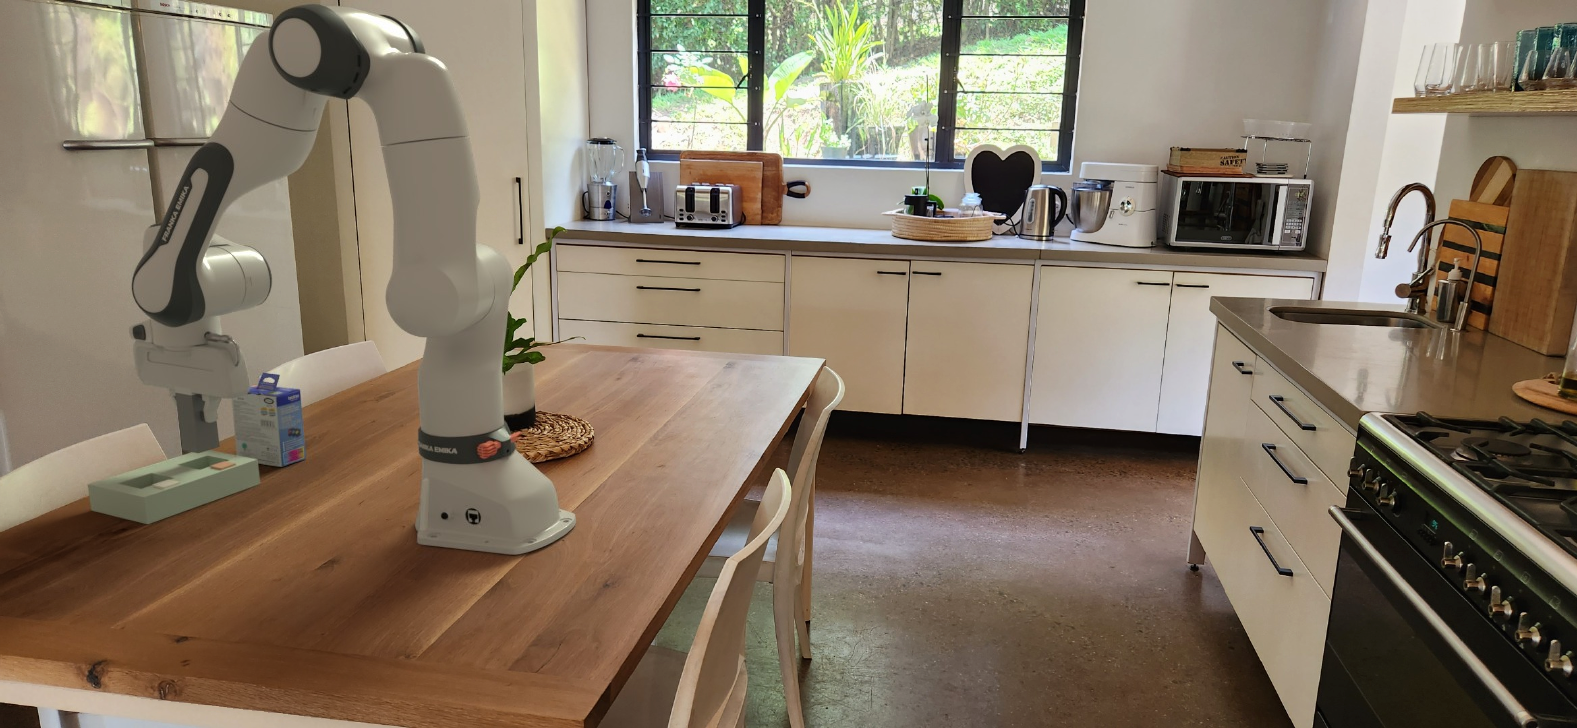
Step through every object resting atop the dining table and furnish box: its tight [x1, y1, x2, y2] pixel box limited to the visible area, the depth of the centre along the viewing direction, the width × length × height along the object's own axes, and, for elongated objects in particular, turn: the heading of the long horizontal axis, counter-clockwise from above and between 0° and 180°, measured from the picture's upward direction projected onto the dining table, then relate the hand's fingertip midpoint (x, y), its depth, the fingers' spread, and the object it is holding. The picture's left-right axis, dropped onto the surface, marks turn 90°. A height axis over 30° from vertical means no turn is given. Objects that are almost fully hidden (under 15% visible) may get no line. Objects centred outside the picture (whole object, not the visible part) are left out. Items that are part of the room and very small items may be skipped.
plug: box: [175, 386, 221, 453], centre depth 150 cm, size 4×4×10 cm
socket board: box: [87, 449, 261, 525], centre depth 148 cm, size 12×18×4 cm, turn 157°
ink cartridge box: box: [231, 372, 307, 468], centre depth 164 cm, size 10×6×14 cm, turn 71°
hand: (198, 419), depth 150 cm, fingers closed on plug, 3 cm apart
